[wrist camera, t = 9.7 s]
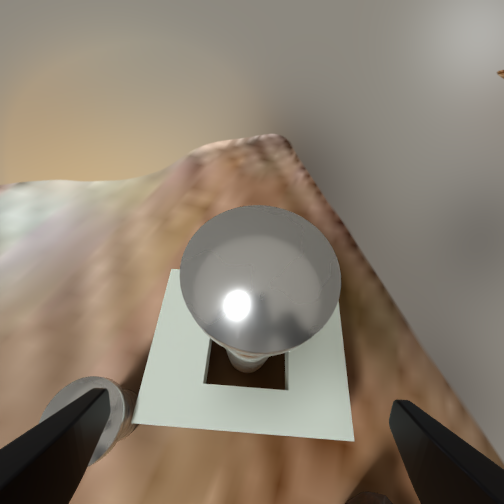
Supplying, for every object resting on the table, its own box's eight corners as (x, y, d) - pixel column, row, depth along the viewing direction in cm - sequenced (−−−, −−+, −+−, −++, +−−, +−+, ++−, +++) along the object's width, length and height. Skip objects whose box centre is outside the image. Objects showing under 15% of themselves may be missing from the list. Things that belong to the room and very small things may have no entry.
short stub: (139, 455, 17) (105, 476, 12) (74, 450, 17) (19, 469, 12) (156, 382, 19) (132, 379, 15) (99, 378, 19) (59, 373, 15)
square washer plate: (331, 431, 18) (354, 441, 14) (152, 417, 18) (130, 423, 14) (321, 299, 23) (336, 282, 19) (182, 287, 23) (171, 268, 19)
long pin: (258, 393, 19) (303, 392, 5) (210, 362, 20) (144, 294, 6) (282, 340, 21) (360, 242, 7) (238, 315, 22) (233, 186, 8)
